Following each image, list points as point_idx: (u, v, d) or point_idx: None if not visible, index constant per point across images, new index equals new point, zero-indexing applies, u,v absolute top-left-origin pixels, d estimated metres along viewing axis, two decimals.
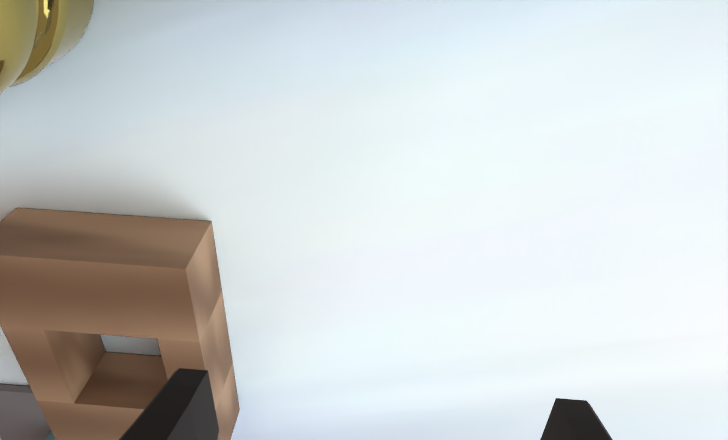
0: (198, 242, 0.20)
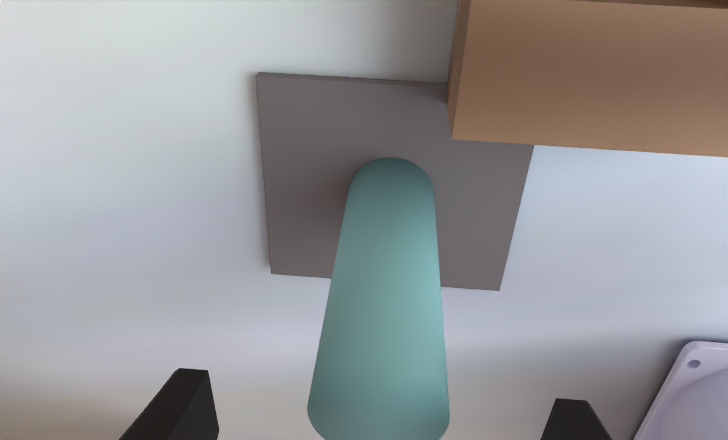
0: None
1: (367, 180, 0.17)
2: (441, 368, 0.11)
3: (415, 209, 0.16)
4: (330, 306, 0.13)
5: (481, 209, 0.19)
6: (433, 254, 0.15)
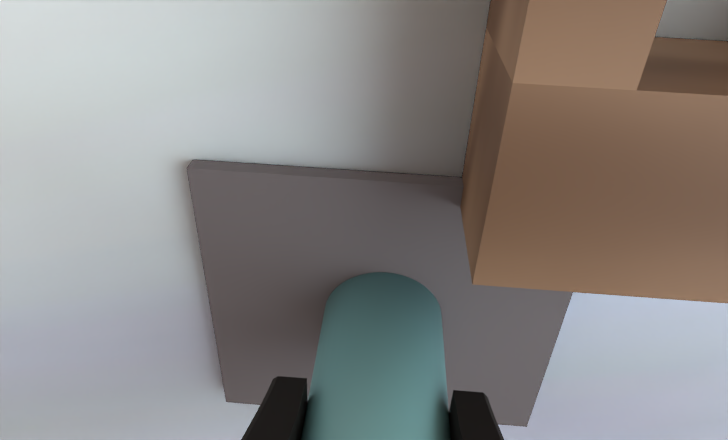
0: None
1: (347, 314, 0.12)
2: None
3: (416, 375, 0.11)
4: None
5: (505, 335, 0.14)
6: None
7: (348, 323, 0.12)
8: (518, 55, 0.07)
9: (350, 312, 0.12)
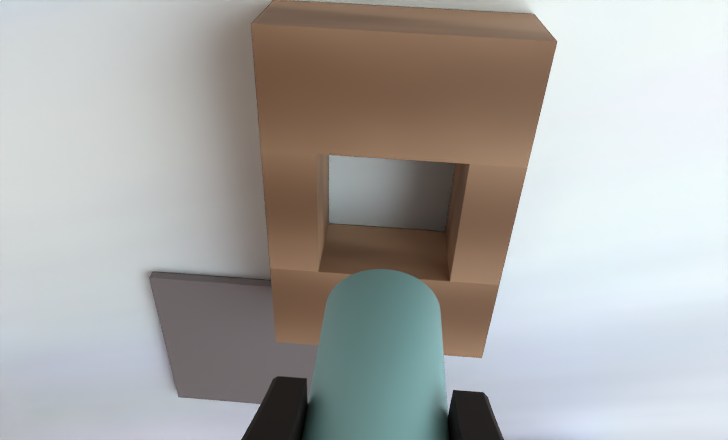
0: (542, 25, 0.15)
1: (354, 308, 0.12)
2: None
3: (421, 372, 0.11)
4: None
5: None
6: None
7: (355, 317, 0.12)
8: (269, 259, 0.18)
9: (356, 306, 0.12)
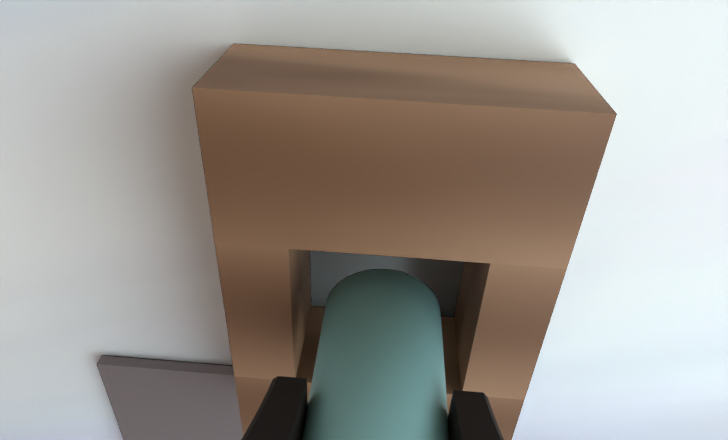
0: (589, 84, 0.11)
1: (353, 308, 0.12)
2: None
3: (421, 372, 0.11)
4: None
5: None
6: None
7: (354, 317, 0.12)
8: (233, 366, 0.15)
9: (356, 306, 0.12)
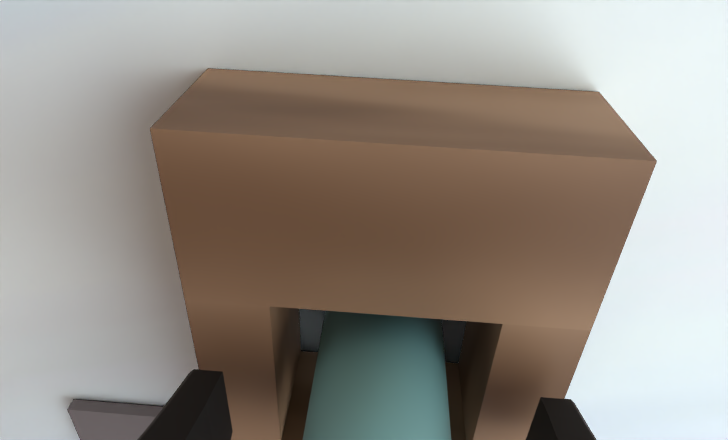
0: (619, 120, 0.10)
1: None
2: None
3: (421, 352, 0.11)
4: None
5: None
6: (446, 432, 0.10)
7: None
8: None
9: None
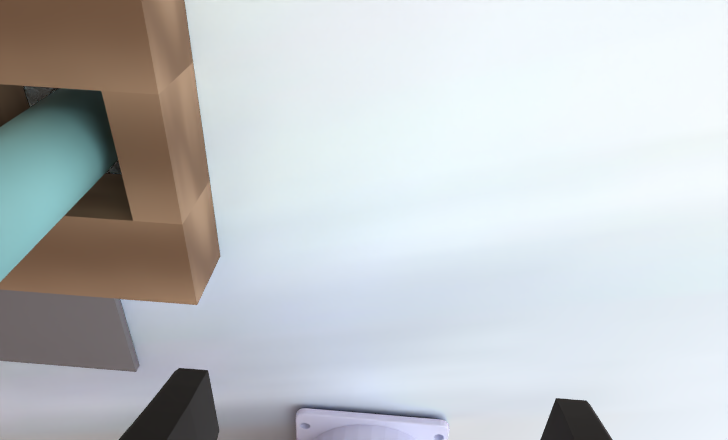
0: None
1: (45, 97, 0.18)
2: None
3: (65, 122, 0.16)
4: None
5: (92, 316, 0.25)
6: (60, 161, 0.15)
7: (42, 100, 0.17)
8: None
9: (48, 96, 0.18)
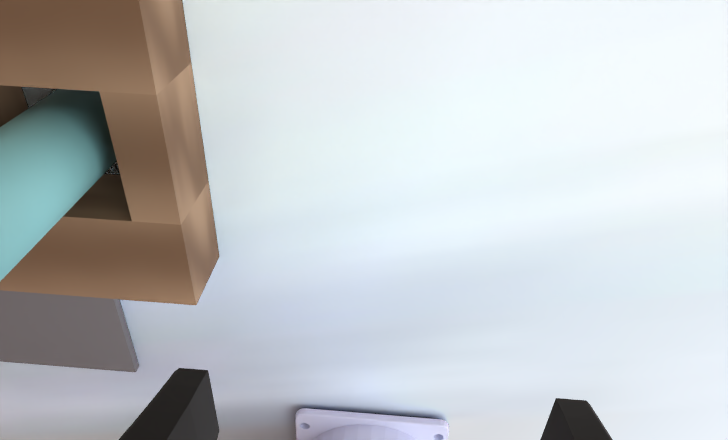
0: None
1: (44, 98, 0.18)
2: None
3: (64, 122, 0.16)
4: None
5: (92, 317, 0.25)
6: (59, 162, 0.15)
7: (40, 101, 0.17)
8: None
9: (46, 97, 0.18)
